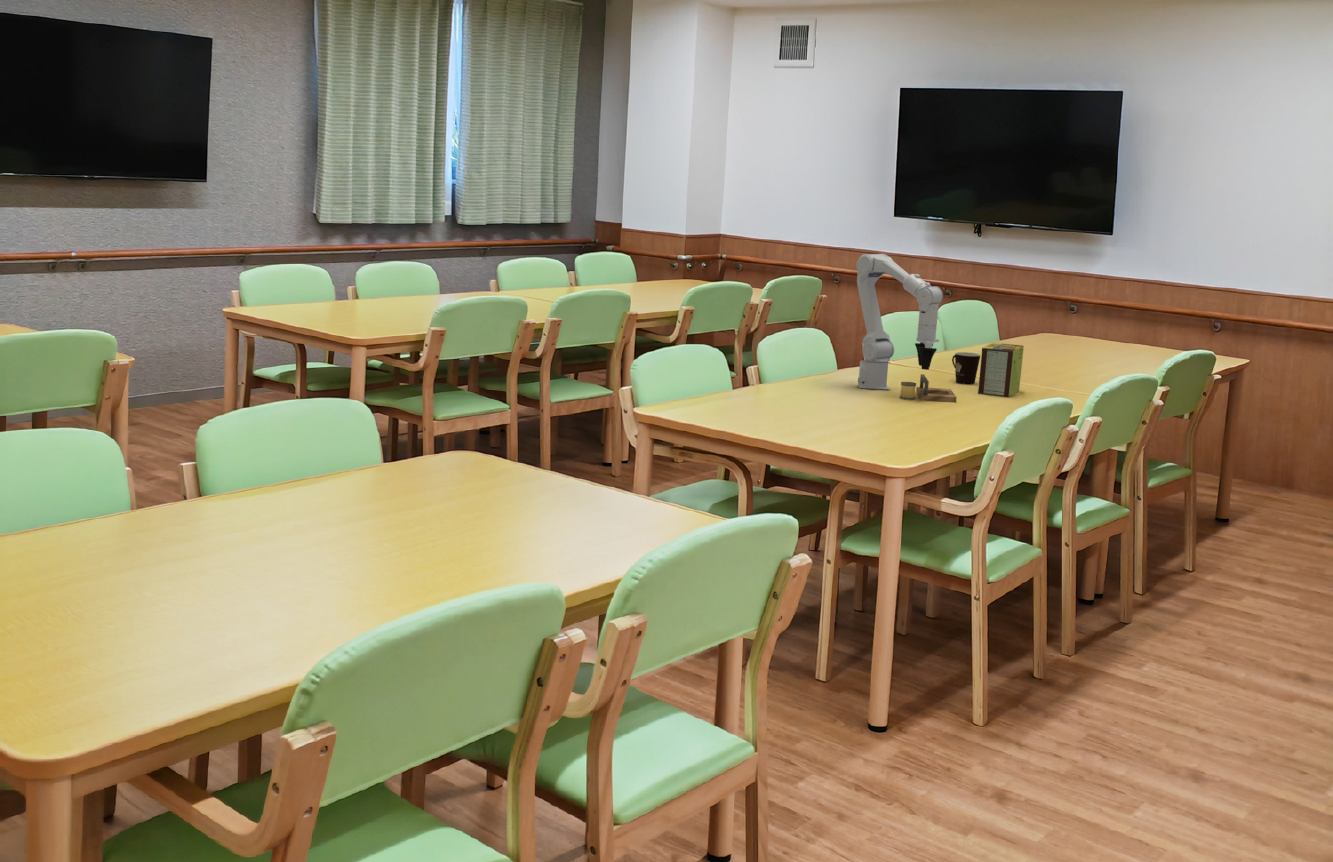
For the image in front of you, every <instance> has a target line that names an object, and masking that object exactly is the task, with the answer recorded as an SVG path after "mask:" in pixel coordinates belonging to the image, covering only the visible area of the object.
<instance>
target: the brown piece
mask: <svg viewBox="0 0 1333 862" xmlns="http://www.w3.org/2000/svg"><path fill="white" fill-rule="evenodd" d="M929 384H930V381H929V380H928V378H927V377H926V375H925V374H923V373H922V374H920V381H919V386H916V387H915V394H917V396H918V398H919V400H920V401H929V402H945V403H947V402H949V403H957V398H958V397H957V396H956V395H955V393H954V391H953V390H952V389H951V388H939V387H937V388H936V387H929Z"/></svg>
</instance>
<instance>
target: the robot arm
mask: <svg viewBox="0 0 1333 862" xmlns="http://www.w3.org/2000/svg"><path fill="white" fill-rule="evenodd" d="M855 266H856V267H855V268H856V272H857V276H856V284H857V285H856V286H857V291H858V294H859V301H860V305H861V310H862V314H863V321H864V324H865V325H864V326H865V330H866V331H865V332H866V334H865V336H864V337H863V339H862V340H861V341H862V349H861V350H862V351H861V352H862V355H863V358H864V360H860V361H859V372H858V377H857V384H858V388H859V389H869V390H870V389H871V390H885V391H887V390H889V386H888V384H887V383H888V373H889V362H890V361H891V360H890V359H891V358H892V357H893V356H894V354H895V347H894V344H893V342H892V341H891V338H890V335H889V333H887V332H886V331H885V330H884V327H883V321H882V316H881V312H880V306H879V305H880V304H879V301H878V295H877V291H876V286H875V284H876V283H877V281H878V280H879V279H880V278H881V277H882V276H884V274H888V275H889V276H891V277H893V278H894V279H896V280H897V281H899V282H900V283H902V287H903V288H902V289H903V290H905V291H906V292H907V293H910V295H912V296H913V297H915V298H916V301H917V303H918V325H917V335H916V336H917V337H916V339H915V340H916V343H915V342H914V346H915V347H916V352H917V353H916V354H917V361H918V362H917V363H918V366H919V367H921V370H925V371H927V370H930V368H931V363H932V359H933V357H934V355H935V353H936V352H937V350H938V349H937V348H936V347H933V346H934V344H935V343H939V342H940V339H939V338H936V337H937V328H938V327H937V325H938V314H939V306H940V305H939V304H941V303H942V301H943V298H944V293H943V291H942V289H941V288H940V287H939V286H937V285H936V286H932V285H931V283H930V282H928V281H927V282H926V281H925V280H924V279H922V278H921V275H920V274H919V273H916V274H915V273H911V274H910V273H908V272H907V271H905V269H903V268H902V267H901V266H900V265H898V264H897V263H896V262H895V261H894V260H893V258H892V257H890V256H888V255H887V254H885V253H877V254H875V253H874V254H873V253H872V254H868V253H863V254H862V255H860V257H859V258H858V260H857V261H856V263H855Z"/></svg>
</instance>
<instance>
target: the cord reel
mask: <svg viewBox="0 0 1333 862" xmlns="http://www.w3.org/2000/svg"><path fill="white" fill-rule="evenodd" d="M916 387H917V382H913V381H900V389H901V390H900V395H899V399H901V400H906V401H907V400H908V401H913V400H916Z"/></svg>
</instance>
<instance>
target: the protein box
mask: <svg viewBox="0 0 1333 862" xmlns="http://www.w3.org/2000/svg"><path fill="white" fill-rule="evenodd" d="M1024 347H1025V346H1024V345H1019V344H1011V343H1000V342H992V343H989V344H987V345H984V346H983V347H982V348H981V356H980V369H979V379H978V389H977V390H978V392H977V394H979V393H981V395H987V396H997V397H1004V398H1010V397H1011V396H1012V395H1014V394H1016V393H1018V392H1019V391H1020V386H1021V376H1022V368H1023V367H1022V366H1023V357H1024Z"/></svg>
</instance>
